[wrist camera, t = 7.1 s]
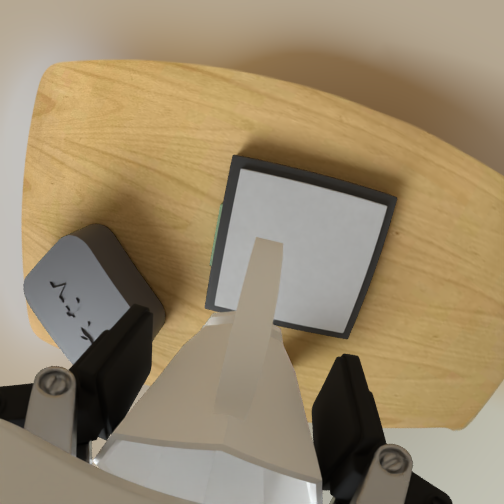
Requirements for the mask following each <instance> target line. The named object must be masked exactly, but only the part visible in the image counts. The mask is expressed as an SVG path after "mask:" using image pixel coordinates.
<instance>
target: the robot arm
mask: <svg viewBox="0 0 504 504" xmlns="http://www.w3.org/2000/svg"><path fill="white" fill-rule="evenodd" d="M152 335H153V313H151V312H150V310H149V308H148V307H145V306H142V305H139V304H133V305H132V306H131V307H130V308H129V309H128V310H127V312H126V313H125V314H124V315H123V316H122V317H121V318H120V319H119V320H118V321H117V323H116V324H115V325H114V326H113V327H112V328H111V329H110V330H108V329H107V330H104V331H103V332H102V333H101V334H100V335H99V337H98V338H97V339H96V340H95V341H94V342H93V343H92V344H91V345H90V346H89V348H88V349H87V350H86V351H85V352H84V353H83V354H82V355H81V357H80V358H79V359H78V360H77V361H76V362H75V363H74V364H73V366H72V367H71V368H70V369H69V370H67V369H65V368H63V367H59V366H51V367H47V368H44V369H42V370H41V371H40V372H39V373H38V374H37V375H36V377H35V380H34V383H31V384H22V385H13V386H3V387H0V504H202V503H198V502H194V501H190V500H186V499H182V498H179V497H175V496H172V495H168V494H165V493H162V492H159V491H156V490H153V489H150V488H147V487H144V486H141V485H138V484H136V483H133V482H130V481H128V480H125V479H123V478H120V477H118V476H115V475H113V474H111V473H108V472H106V471H104V470H102V469H99V468H97V467H95V466H93V465H92V441H93V440H97V438H98V437H100V438H102V439H104V440H106V441H107V439H108V438H109V436H110V434H112V433H113V432H114V430H115V429H116V428H117V427H118V425H119V424H120V423H121V422H122V420H123V419H124V418H125V416H126V414H127V413H128V411H129V409H130V407H131V406H132V404H133V402H134V400H135V398H136V397H137V395H138V393H139V391H140V389H141V388H142V386H143V384H144V382H145V381H146V379H147V377H148V375H149V373H150V371H151V365H152ZM312 425H313V443H314V448H315V452H316V456H317V460H318V465H319V469H320V473H321V477H322V490H330V494H331V495H332V496H333V498H332V499H331V501H330V503H329V504H452V500H451V499H450V497H449V496H448V495H447V494H446V493H444V492H443V491H441V490H440V489H438V488H437V487H435V486H433V485H432V484H430V483H429V482H427V481H426V480H424V479H423V478H421V477H420V476H418V475H417V474H415V473H413V472H412V467H413V461H412V458H411V455H410V454H409V453H408V451H407V450H405V449H404V448H403V447H401V446H399V445H395V444H386V440H385V437H384V433H383V429H382V425H381V421H380V418H379V414H378V411H377V407H376V404H375V400H374V397H373V394H372V392H370V391H369V389H368V385H367V382H366V379H365V375H364V372H363V369H362V366H361V362H360V359H359V357H358V356H356V355H350V354H343V355H342V356H341V357H337V358H336V360H335V362H334V364H333V366H332V368H331V370H330V372H329V374H328V376H327V378H326V380H325V382H324V384H323V386H322V388H321V390H320V392H319V394H318V396H317V398H316V400H315V402H314V404H313V407H312Z"/></svg>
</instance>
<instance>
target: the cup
mask: <svg viewBox="0 0 504 504" xmlns="http://www.w3.org/2000/svg"><path fill="white" fill-rule="evenodd" d="M282 260H283V243H280V242H276V241H272V240H267V239H263V238H259V237H256V239H255V242H254V246H253V249H252V253H251V256H250V260H249V264H248V267H247V271H246V275H245V278H244V282H243V286H242V290H241V294H240V298H239V302H238V306H237V310H236V311H230V312H220V313H213V314H212V315H211V317H210V318H209V319H208V321H207V322H206V323H205V325H204V326H203V327H202V329H201V330H200V331H199V332H198V333H197V334H196V335H194V336H193V337H192V338H191V339H190V340H189V341H188V342H186V343H185V344H184V345H183V346H182V348H181V349H180V350H179V352H178V353H177V354H176V355H175V357H174V358H173V359H172V360H171V362H170V363H169V364H168V366H167V367H166V368H165V369H164V371H163V372H162V373H161V374H160V376H159V377H158V378H157V379H156V381H155V382H154V383H153V384H152V385H151V387H150V388H149V389H148V390H147V392H146V393H145V394H144V395H143V396H142V397H141V398H140V400H139V401H138V402H137V403H136V404H135V406H134V407H133V408H132V409H131V411H130V412H129V413H128V414H127V415H126V417H125V418H124V419H123V420H122V422H121V423H120V424H119V425H118V427H117V428H116V429H115V430H114V432H113V433H112V434H111V436H110V437H109V439H108V440H107V442H106V443H105V445H104V446H103V447H102V449H101V450H100V451H99V453H98V454H97V456H96V457H95V458H94V460H93V462H94V463H95V464H96V465H97V466H98V467H99V468H100V469H102V470H104V471H106V472H108V473H111V474H113V475H115V476H118V477H120V478H123V479H125V480H128V481H130V482H133V483H136V484H138V485H141V486H144V487H147V488H150V489H153V490H156V491H159V492H162V493H165V494H168V495H172V496H175V497H179V498H182V499H186V500H190V501H194V502H198V503H202V504H322V477H321V473H320V469H319V465H318V460H317V456H316V452H315V448H314V444H313V440H312V437H311V433H310V429H309V426H308V422H307V418H306V415H305V411H304V406H303V402H302V398H301V394H300V390H299V385H298V381H297V377H296V373H295V370H294V368H293V366H292V363H291V361H290V359H289V357H288V354H287V352H286V350H285V348H284V345H283V339H282V333H281V329H280V328H278V327H277V326H275V325H274V324H273V319H274V314H275V309H276V304H277V299H278V293H279V285H280V277H281V268H282Z"/></svg>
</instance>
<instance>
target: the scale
mask: <svg viewBox="0 0 504 504" xmlns="http://www.w3.org/2000/svg"><path fill="white" fill-rule="evenodd" d="M396 202H397V197H395V196H392V195H390V194H387V193H384V192H380V191H377V190H374V189H371V188H367V187H364V186H361V185H357V184H354V183H351V182H347V181H344V180H340V179H336V178H333V177H329V176H325V175H322V174H318V173H314V172H310V171H306V170H302V169H298V168H294V167H290V166H286V165H281V164H277V163H273V162H268V161H264V160H259V159H254V158H249V157H244V156H239V155H233V156H232V161H231V166H230V171H229V176H228V181H227V186H226V191H225V196H224V201H223V203H221V205H220V210H219V216H218V221H217V226H216V232H215V238H214V243H213V249H212V255H211V260H210V266H211V272H210V278H209V284H208V290H207V296H206V302H205V309H209V310H213V311H217V312H230V311H236V310H237V306H238V302H239V298H240V294H241V290H242V286H243V282H244V278H245V275H246V271H247V267H248V264H249V260H250V256H251V253H252V249H253V246H254V242H255V239H256V237H259V238H263V239H267V240H272V241H276V242H280V243H283V260H282V268H281V277H280V285H279V293H278V299H277V304H276V309H275V314H274V319H273V324H274V325H277V326H281V327H286V328H291V329H296V330H301V331H306V332H311V333H316V334H321V335H326V336H332V337H337V338H343V339H348V337H349V335H350V333H351V330H352V328H353V326H354V323H355V321H356V318H357V316H358V314H359V311H360V309H361V306H362V304H363V301H364V298H365V296H366V293H367V291H368V288H369V285H370V283H371V280H372V277H373V274H374V271H375V269H376V266H377V263H378V260H379V257H380V254H381V251H382V248H383V245H384V242H385V239H386V236H387V232H388V229H389V226H390V222H391V219H392V216H393V212H394V209H395V205H396Z"/></svg>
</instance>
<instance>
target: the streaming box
mask: <svg viewBox="0 0 504 504" xmlns="http://www.w3.org/2000/svg"><path fill="white" fill-rule="evenodd" d="M24 294H25V297H26V300H27V302H28V304H29V305H30V307H31V309H32V310H33V312H34V313H35V315H36V316H37V318H38V319H39V321H40V322H41V323H42V325H43V326H44V328H45V329H46V331H47V332H48V333H49V335H50V336H51V337H52V339H53V340H54V341H55V343H56V344H57V345H58V347H59V348H60V349H61V351H62V352H63V353H64V354H65V356H66V357H67V358H68V359H69V361H70V362H71V363H72V364H74V363H75V362H76V361H77V360H78V359H79V358H80V357H81V355H82V354H83V353H84V352H85V351H86V350H87V349H88V348H89V346H90V345H91V344H92V343H93V342H94V341H95V340H96V339H97V338H98V337H99V335H100V334H101V333H102V332H103V331H104V330H107V329H108V330H110V329H111V328H112V327H113V326H114V325H115V324H116V323H117V321H118V320H119V319H120V318H121V317H122V316H123V315H124V314H125V313H126V312H127V310H128V309H129V308H130V307H131V306H132V305H133V304H139V305H142V306H145V307H148V308H149V310H150V312H151V313H153V335H152V341H153V340H154V338H155V337H156V335H157V334H158V332H159V331H160V329H161V328H162V326H163V325H164V322H165V311H164V308H163V306H162V304H161V302H160V301H159V300H158V298H157V297H156V295H155V294H154V293H153V291H152V290H151V289H150V287H149V286H148V284H147V283H146V282H145V280H144V279H143V277H142V276H141V274H140V273H139V272H138V270H137V269H136V267H135V266H134V264H133V263H132V261H131V260H130V258H129V257H128V255H127V254H126V252H125V251H124V249H123V248H122V246H121V245H120V243H119V242H118V240H117V239H116V237H115V235H114V234H113V233H112V232H111V231H110V230H109V229H108V228H107V227H105V226H103V225H100V224H91V225H89V226H86V227H84V228H82V229H79V230H77V231H75V232H73V233H70V234H68V235H66V236H64V237H62V238H61V239H60V240H59V241H58V242H57V243H56V244H55V245H54V246H53V247H52V248H51V249H50V250H49V251H48V252H47V254H46V255H45V256H44V257H43V258H42V259H41V260H40V261H39V262H38V264H37V265H36V266H35V267H34V268H33V269H32V270H31V272H30V273H29V274H28V275H27V276H26V278H25V280H24Z"/></svg>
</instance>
